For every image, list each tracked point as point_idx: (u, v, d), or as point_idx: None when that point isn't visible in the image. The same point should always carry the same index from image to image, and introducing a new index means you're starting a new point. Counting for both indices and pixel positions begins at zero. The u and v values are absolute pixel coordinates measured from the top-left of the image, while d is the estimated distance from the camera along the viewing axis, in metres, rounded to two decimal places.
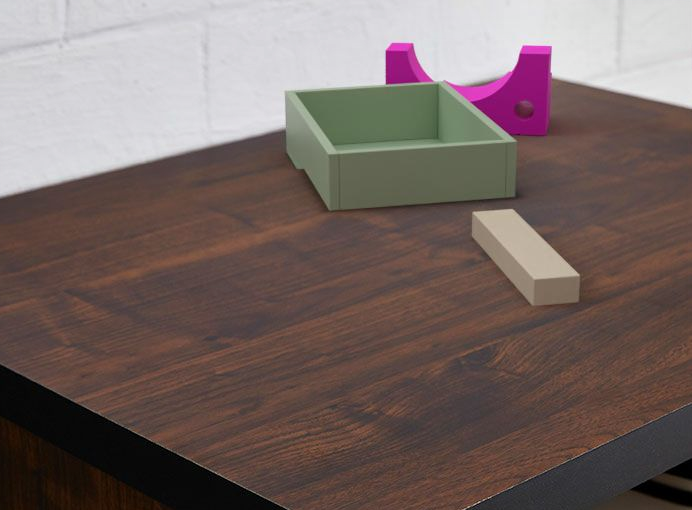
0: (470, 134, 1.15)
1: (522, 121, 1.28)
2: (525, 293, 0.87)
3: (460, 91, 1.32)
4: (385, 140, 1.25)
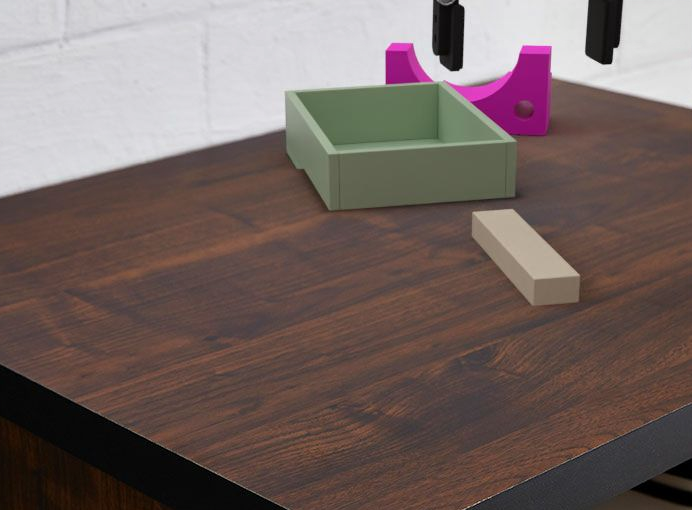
0: (470, 134, 1.15)
1: (522, 121, 1.28)
2: (525, 293, 0.87)
3: (460, 91, 1.32)
4: (385, 140, 1.25)
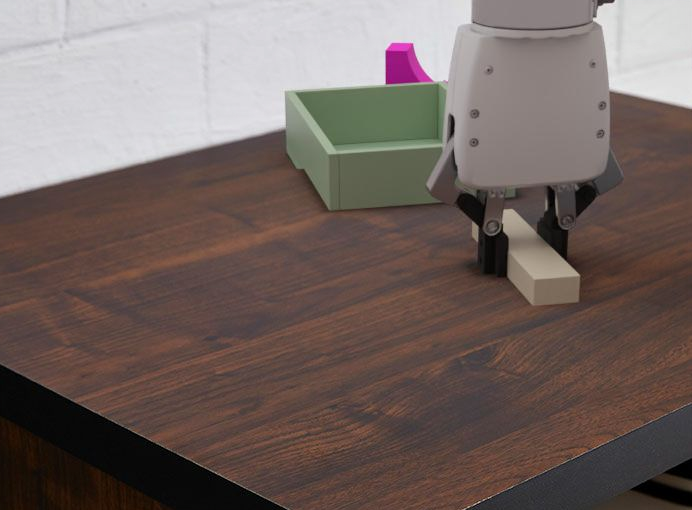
0: None
1: None
2: (525, 293, 0.87)
3: None
4: (385, 140, 1.25)
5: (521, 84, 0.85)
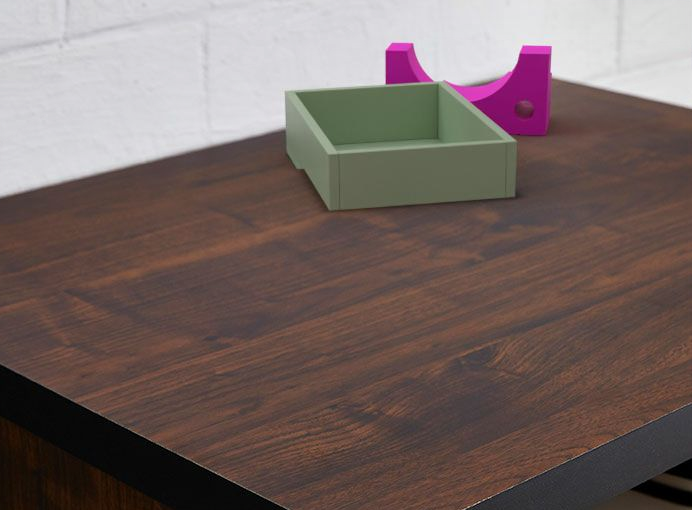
0: (470, 134, 1.15)
1: (522, 121, 1.28)
2: None
3: (460, 91, 1.32)
4: (385, 140, 1.25)
5: None
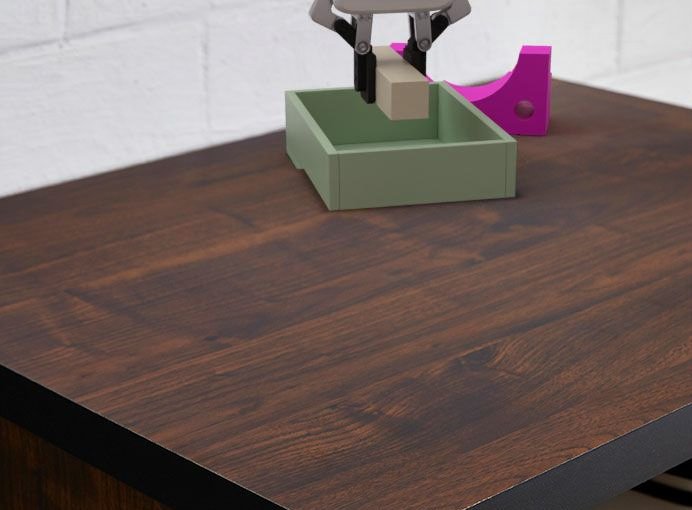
0: (470, 134, 1.15)
1: (522, 121, 1.28)
2: (386, 97, 1.07)
3: (460, 91, 1.32)
4: (385, 140, 1.25)
5: None
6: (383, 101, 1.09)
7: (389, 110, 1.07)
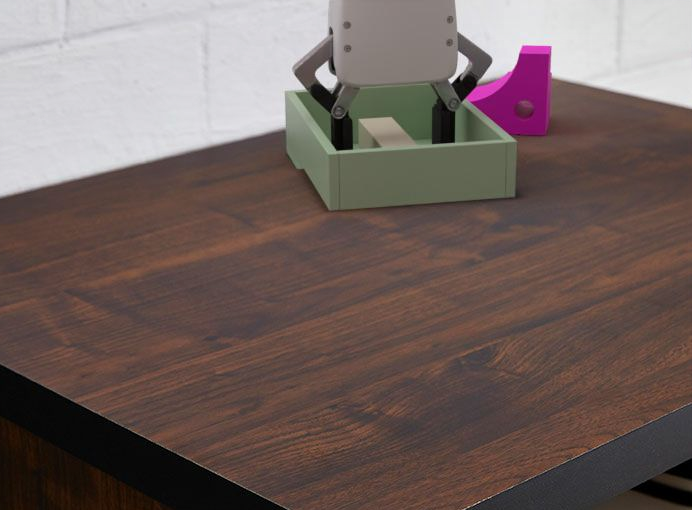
0: (470, 134, 1.15)
1: (522, 121, 1.28)
2: None
3: None
4: None
5: (383, 0, 1.07)
6: None
7: None
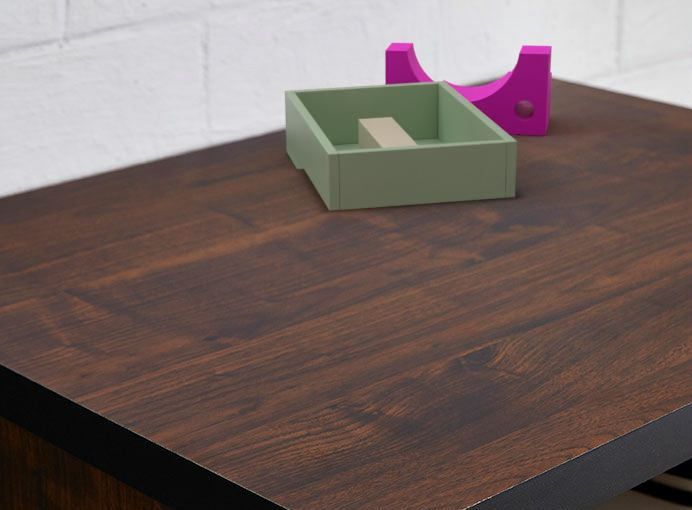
0: (470, 134, 1.15)
1: (522, 121, 1.28)
2: None
3: (460, 91, 1.32)
4: None
5: None
6: None
7: None
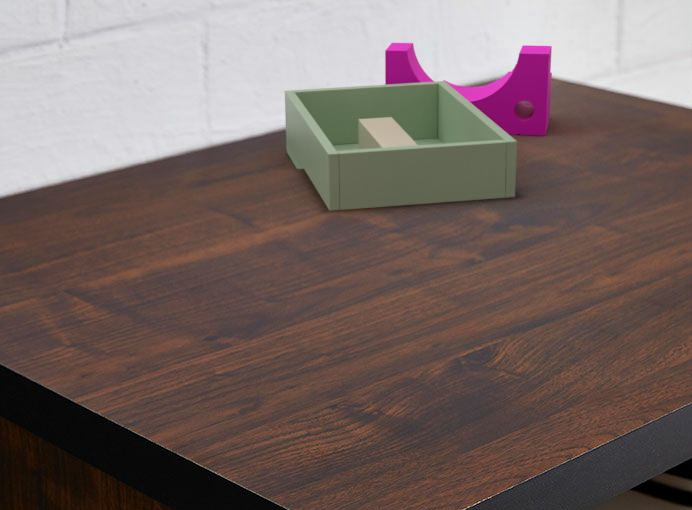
0: (470, 134, 1.15)
1: (522, 121, 1.28)
2: None
3: (460, 91, 1.32)
4: None
5: None
6: None
7: None
